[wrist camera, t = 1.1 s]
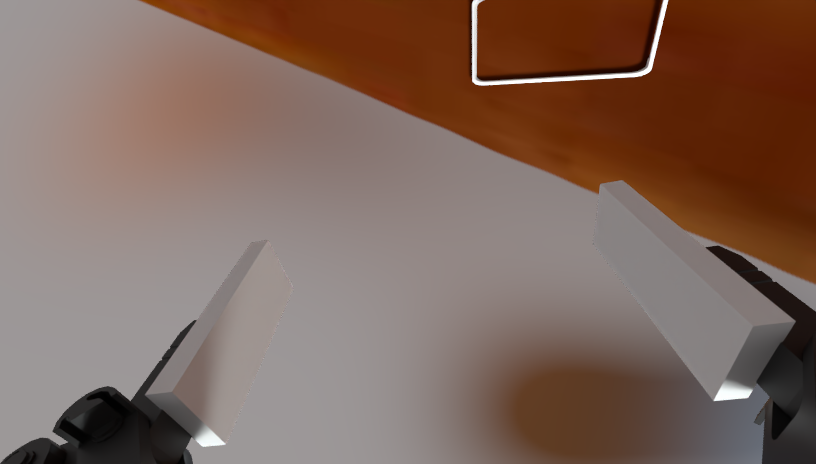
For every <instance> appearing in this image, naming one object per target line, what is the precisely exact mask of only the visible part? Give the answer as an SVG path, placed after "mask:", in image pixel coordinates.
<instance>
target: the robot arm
mask: <svg viewBox="0 0 816 464" xmlns="http://www.w3.org/2000/svg"><path fill="white" fill-rule="evenodd" d="M593 244H594V246H595V247H596V249H597V250H598V251H599V252H600V254H601V255H602V256H603V258H604V259H605V260H606V261H607V263H608V264H609V265H610V267H611V268H612V269H613V270H614V272H615V273H616V274H617V276H618V277H619V278H620V280H621V281H622V282H623V284H624V285H625V286H626V288H627V289H628V290H629V292H630V293H631V294H632V295H633V297H634V298H635V299H636V301H637V302H638V303H639V305H640V306H641V307H642V308H643V310H644V311H645V312H646V314H647V315H648V316H649V317H650V319H651V320H652V321H653V323H654V324H655V325H656V327H657V328H658V329H659V331H660V332H661V333H662V334H663V336H664V337H665V338H666V340H667V341H668V342H669V344H670V345H671V346H672V347H673V349H674V350H675V351H676V353H677V354H678V355H679V357H680V358H681V359H682V361H683V362H684V363H685V364H686V366H687V367H688V368H689V369H690V371H691V372H692V374H693V375H694V376H695V377H696V379H697V380H698V381H699V383H700V384H701V385H702V387H703V388H704V389H705V390H706V391H707V393H708V394H709V396H710V397H711V398H712V400H713V401H718V400H729V399H740V398H748V397H749V395H750V394H751V392H752V390H753V389H754V387H755V386H756V384H757V383H758V384H759V385H760V387H761V388H762V389H763V390H764V391H765V392H766V393H767V394H768V395H769V396H770V398H769V399H768V401H767V402H766V403H765V405H764V406H763V408H762V409H761V411H760V413H759V414H758V415H757V417H756V419H755V421H754V423H756V424H758V425H761V423H762V422H763V421H764V419H765V422H764V438H763V455H762V464H816V312H815V311H814V310H813V309H811V308H810V307H809V306H807V305H806V304H805V303H803V302H802V301H801V300H799V299H798V298H797V297H795V296H794V295H793V294H791V293H790V292H789V291H787V290H786V289H785V288H783V287H782V286H781V285H779V284H778V283H777V282H773V281H772V279H771V278H770V277H769V276H767V275H766V274H765V273H763V272H762V271H758V268H757V267H755V266H754V265H753V264H751V263H750V262H749V261H747V260H746V259H745V258H743V257H742V256H740V255H738V254H736V253H734V252H732V251H729V250H727V249H725V248H723V247H720V246H712V247H704V246H703V245H701V244H700V243H699V242H698V241H696V240H695V239H694V238H693V237H692V236H690V235H689V234H688V233H687V232H685V231H684V230H683V229H682V228H680V227H679V226H678V225H677V224H676V223H674V222H673V221H672V220H671V219H669V218H668V217H667V216H666V215H664V214H663V213H662V212H661V211H660V210H658V209H657V208H656V207H655V206H653V205H652V204H651V203H650V202H649V201H647V200H646V199H645V198H644V197H642V196H641V195H640V194H639V193H637V192H636V191H635V190H634V189H633V188H631V187H630V186H629V185H628V184H626V183H625V182H624V181H623V180H621V181H615V182H609V183H603V184H600V191H599V200H598V207H597V216H596V224H595V232H594V240H593ZM292 291H293V286H292V284H291V282H290V281H289V279H288V277H287V275H286V273H285V271H284V269H283V267H282V265H281V263H280V261H279V260H278V258H277V256H276V254H275V252H274V250H273V248H272V246H271V244H270V242H269V240H264V241H259V242H252V243H251V244H250V245H249V247H248V248H247V250H246V251H245V252H244V254H243V255H242V257H241V258H240V259H239V261H238V262H237V264H236V265H235V267H234V268H233V270H232V271H231V272H230V274H229V275H228V277H227V278H226V279H225V281H224V282H223V284H222V285H221V287H220V288H219V289H218V291H217V292H216V294H215V295H214V297H213V298H212V300H211V301H210V303H209V304H208V305H207V307H206V308H205V310H204V311H203V313H202V314H201V315H200V317H199V318H198V320H194V321H193V322H192V323H190V324H189V325H188V326H187V327H186V328H185V329H184V330H183V331H182V332H181V333H180V334H179V335H178V336H177V338H176V339H175V341H174V342H173V344H172V345H171V346H170V349H168V350H167V352H166V353H165V354H164V356H163V357H162V361H159V363H158V364H157V365H156V367H155V368H154V370H153V371H152V372H151V374H150V375H149V377H148V378H147V379H146V381H145V382H144V383H143V385H142V386H141V388H140V389H139V390H138V392H137V393H136V394H135V396H134V397H133V399H132V400H131V401H129V400H128V399H127V398H126V397H125V396H123V395H122V394H121V393H120V392H119V391H117V390H116V389H115V388H113V387H109V386H107V387H102V388H99V389H96V390H94V391H92V392H90V393H88V394H86V395H85V396H83V397H82V398H80V399H79V400H78V401H76V402H75V403H74V404H73V405H72V406H71V407H69V408H68V409H67V410H66V411H65V412H64V413H63V415H62V416H61V417H60V418H59V420H58V421H57V422H56V425H55V427H54V429H53V432H54V433H56V434H57V435H58V436H60V437H62V438H63V439H65V440H66V441H68V443H66V444H63V445H60V446H59V445H58V444H56V443H55V442H53V441H51V440H50V439H48V438H39V439H36V440H33V441H31V442H29V443H27V444H25V445H24V446H22V447H20V448H19V449H17V450H15V451H14V452H12V454H10V455H9V456H7V457H6V458H5V459H4V460H3V461H2V462H1V463H0V464H193V462H192V457H191V454H190V452H189V451H188V450H187V449H186V447H187V445H188V443H189V441H190V439H191V437H192V438H194V439H195V440H196V441H197V442H198V443H199V444H200V445H201V446H203V447H205V446H216V445H226V444H227V442H228V439H229V437H230V435H231V432H232V430H233V428H234V425H235V423H236V420H237V418H238V416H239V414H240V412H241V409H242V406H243V404H244V402H245V400H246V398H247V395H248V393H249V391H250V388H251V386H252V384H253V381H254V379H255V377H256V374H257V372H258V370H259V367H260V365H261V363H262V361H263V358H264V356H265V354H266V351H267V348H268V347H269V344H270V342H271V339H272V337H273V335H274V333H275V330H276V328H277V326H278V323H279V321H280V319H281V316H282V314H283V312H284V309H285V307H286V305H287V303H288V300H289V298H290V296H291V293H292Z"/></svg>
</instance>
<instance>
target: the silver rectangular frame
mask: <svg viewBox="0 0 816 464" xmlns="http://www.w3.org/2000/svg"><path fill="white" fill-rule="evenodd" d="M481 1H483V0H473V2H472V81H473V83H475V84H477V85H497V84H515V83H533V82H551V81H568V80H586V79H604V78H622V77H637V76H642V75H645V74H647V73H649V72H650V71H651V69H652V65H653V61H654V57H655V53H656V49H657V44H658V40H659V36H660V32H661V28H662V23H663V19H664V15H665V11H666V7H667V3H668V0H663V2H662V6H661V10H660V15H659V19H658V23H657V28H656V32H655V36H654V40H653V45H652V49H651V53H650V58H648V60H647V64H646V66H645V67H644V68H643V69H641V70H639V71H635V72H626V73H610V74H593V75H576V76H560V77H543V78H526V79H510V80H493V81H482V80H479V79H478V78H477V5H478V4H479V3H480V2H481Z"/></svg>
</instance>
